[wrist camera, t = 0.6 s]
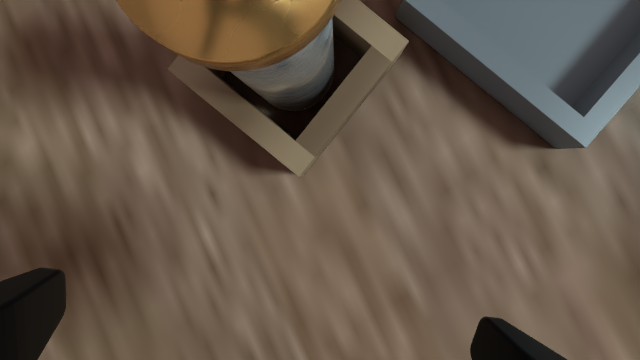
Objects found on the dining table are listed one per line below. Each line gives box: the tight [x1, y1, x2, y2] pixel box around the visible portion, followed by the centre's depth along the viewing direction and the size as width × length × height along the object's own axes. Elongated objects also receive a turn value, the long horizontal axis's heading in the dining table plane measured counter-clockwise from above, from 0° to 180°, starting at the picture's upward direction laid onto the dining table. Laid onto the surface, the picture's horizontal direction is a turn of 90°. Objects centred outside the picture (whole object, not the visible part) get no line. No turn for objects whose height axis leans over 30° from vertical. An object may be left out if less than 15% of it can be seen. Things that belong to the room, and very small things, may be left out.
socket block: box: [167, 0, 409, 177], centre depth 19 cm, size 8×8×3 cm
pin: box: [116, 0, 342, 111], centre depth 14 cm, size 5×5×13 cm
